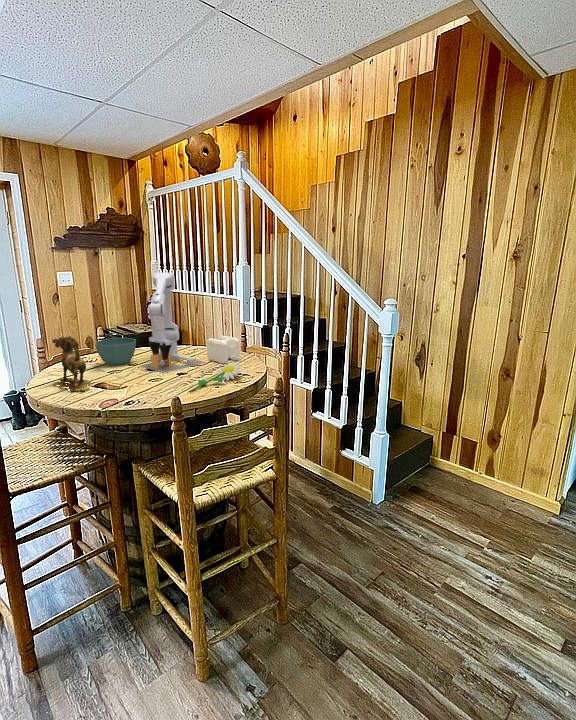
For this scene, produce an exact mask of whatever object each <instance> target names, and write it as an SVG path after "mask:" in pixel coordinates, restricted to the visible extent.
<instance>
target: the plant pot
mask: <svg viewBox="0 0 576 720" xmlns="http://www.w3.org/2000/svg"><path fill="white" fill-rule="evenodd" d="M94 344H95V348H96V352H97V353H98V355H99V357H100V359H101V360H102V361H103V363H104V364H106V365H107V366H108V367H115V366H124V365H126V364H127V365H128V364H129V363H130V362H131V361H132V360H133V357H134V354H135V352H136V346H137V339H135V338H131V337H130V338H129V337H115V338H106V339H100V340H97V341H96V342H95V343H94Z"/></svg>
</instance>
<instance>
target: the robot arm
mask: <svg viewBox="0 0 576 720" xmlns="http://www.w3.org/2000/svg"><path fill="white" fill-rule="evenodd" d="M151 279H152V284H153V285H154V287H155V291H154V292H153V294H152V297H151V303H150V304H148V315H149V320H150V322H151V323H150V325H151V335H152V336H150V337H148V341H149V342H147V345H148V347H149V348H150V351H151V352H152V355H155V354H160V353H162V358H163V360H162V361H164V360H167V359H168V355H169V353H170V354H172V353H174V354H178V355H179V353H178V342H177V341H179V340H180V331H179V326H178V325H177V324H176V323H175V322H173V309H172V308H173V307H172V292H173V290H175V287H176V283H175V282H176V281H175V274H174V272H172V271H171V272H153V273H152V277H151Z"/></svg>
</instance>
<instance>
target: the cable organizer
mask: <svg viewBox="0 0 576 720" xmlns="http://www.w3.org/2000/svg"><path fill="white" fill-rule="evenodd" d="M206 355H207V356H206V357H207V358H208V360H210V361H211V360H212V362H214V361H215V362H217V363H219V364H222V365H224V364H228V363H229V359H230V360H232V361H237V360H239V359H240V341H239V339H238V338H237V337H234V336H233V337H232V336H227V335H220V336H219V339H216V338H212V337H211V338H208V339H206Z"/></svg>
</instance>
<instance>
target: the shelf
mask: <svg viewBox="0 0 576 720" xmlns="http://www.w3.org/2000/svg"><path fill="white" fill-rule="evenodd" d="M182 360H186V364H183V365H177V364H174V363H172V362H177V361H182ZM202 364H207V362H205V361H202V360H199V359H195V358H193V357H190V356H186V355H181V354H179V353H178V354H174V353H172V354H171V365H172V366H166V365H165V364H164V360H161V362H158V366H159V369H153V368H152V365H151V363H147V364H142V365H140V367H142V368H146V369H149V370H151V371H155V372H158V373H162V374H166V373H171V372H175V371H178V370H182V369H183V370H184V369H187V368H190V367H194V366H198V365H202Z"/></svg>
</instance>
